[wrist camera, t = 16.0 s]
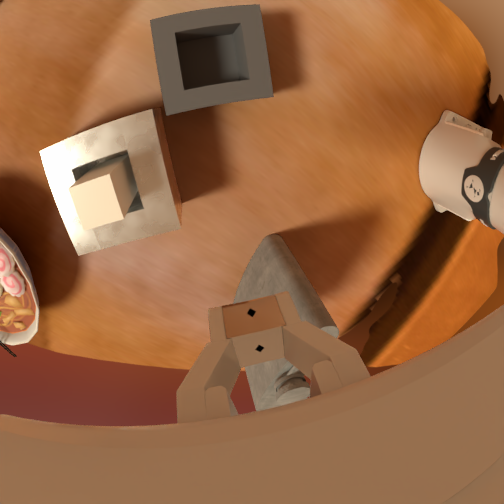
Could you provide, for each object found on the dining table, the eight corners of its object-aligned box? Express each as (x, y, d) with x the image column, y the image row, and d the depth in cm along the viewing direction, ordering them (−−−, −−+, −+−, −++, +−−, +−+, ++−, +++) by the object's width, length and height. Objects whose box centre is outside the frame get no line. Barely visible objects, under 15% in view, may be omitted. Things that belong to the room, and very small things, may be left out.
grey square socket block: (246, 19, 23) (259, 4, 18) (258, 97, 28) (273, 97, 23) (156, 34, 22) (150, 20, 16) (170, 113, 27) (166, 115, 22)
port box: (160, 107, 26) (152, 108, 20) (182, 203, 33) (181, 228, 27) (66, 139, 25) (39, 151, 19) (94, 227, 31) (78, 255, 26)
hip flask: (247, 320, 45) (280, 429, 29) (223, 317, 44) (249, 431, 27) (286, 236, 38) (357, 346, 22) (260, 230, 37) (320, 345, 20)
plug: (132, 150, 27) (109, 173, 19) (141, 183, 29) (123, 218, 21) (100, 161, 27) (67, 188, 18) (110, 192, 29) (83, 230, 21)
